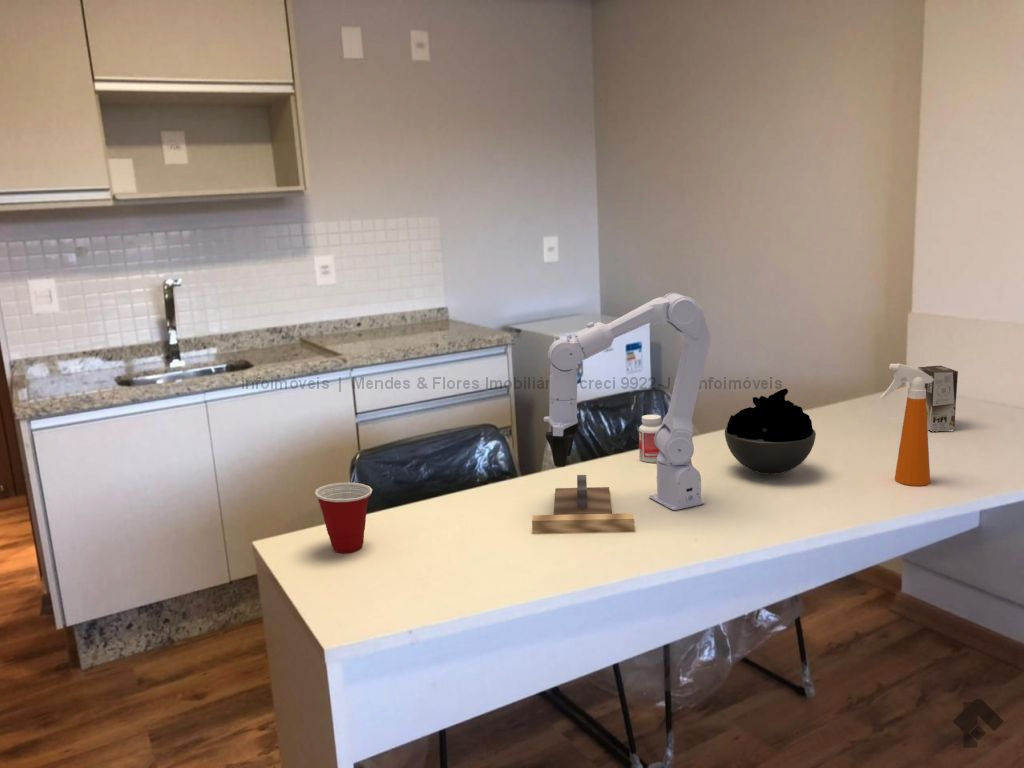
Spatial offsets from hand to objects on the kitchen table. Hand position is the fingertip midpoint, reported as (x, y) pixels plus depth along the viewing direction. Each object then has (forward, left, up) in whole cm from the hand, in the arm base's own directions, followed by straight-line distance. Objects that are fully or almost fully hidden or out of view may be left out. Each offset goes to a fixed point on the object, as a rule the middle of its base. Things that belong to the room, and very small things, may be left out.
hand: (562, 460), depth 173 cm
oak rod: (-13, +2, -11) cm, 17 cm away
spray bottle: (-24, -71, -11) cm, 76 cm away
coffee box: (+2, -112, -11) cm, 113 cm away
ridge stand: (0, -4, -11) cm, 11 cm away
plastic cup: (+3, +46, -11) cm, 47 cm away
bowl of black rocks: (-4, -51, -11) cm, 53 cm away
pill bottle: (+19, -34, -11) cm, 41 cm away
